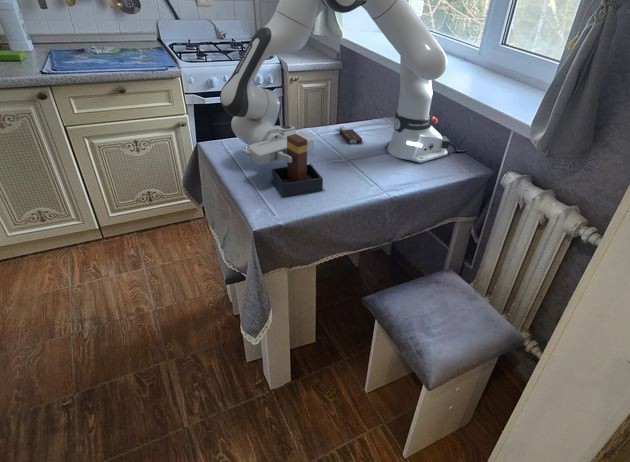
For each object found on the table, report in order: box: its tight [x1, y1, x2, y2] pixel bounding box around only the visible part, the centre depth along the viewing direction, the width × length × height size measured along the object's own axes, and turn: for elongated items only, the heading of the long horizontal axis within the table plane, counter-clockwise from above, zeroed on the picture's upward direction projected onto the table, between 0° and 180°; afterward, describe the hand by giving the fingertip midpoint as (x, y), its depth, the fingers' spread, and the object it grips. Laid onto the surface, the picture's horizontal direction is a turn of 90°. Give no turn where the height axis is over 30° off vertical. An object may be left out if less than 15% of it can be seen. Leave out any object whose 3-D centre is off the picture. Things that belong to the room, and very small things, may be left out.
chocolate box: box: [286, 134, 308, 182], centre depth 124 cm, size 3×5×14 cm, turn 47°
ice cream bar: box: [339, 125, 363, 145], centre depth 163 cm, size 5×2×15 cm
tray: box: [271, 163, 324, 198], centre depth 128 cm, size 12×10×4 cm
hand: (299, 157), depth 123 cm, fingers closed on chocolate box, 3 cm apart
